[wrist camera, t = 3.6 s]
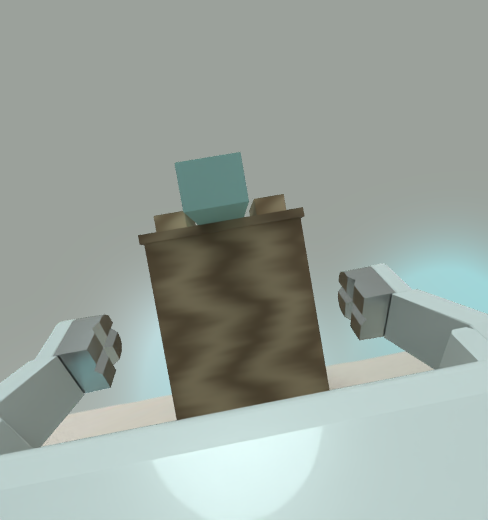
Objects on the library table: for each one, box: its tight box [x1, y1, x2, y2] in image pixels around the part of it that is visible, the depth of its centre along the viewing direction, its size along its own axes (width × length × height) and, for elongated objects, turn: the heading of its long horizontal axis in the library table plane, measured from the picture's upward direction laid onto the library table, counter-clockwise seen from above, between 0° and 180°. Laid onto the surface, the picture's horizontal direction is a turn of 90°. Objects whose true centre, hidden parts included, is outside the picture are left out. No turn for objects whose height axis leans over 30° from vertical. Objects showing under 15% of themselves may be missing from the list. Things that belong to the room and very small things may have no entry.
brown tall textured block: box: [138, 194, 329, 420], centre depth 33 cm, size 15×15×28 cm
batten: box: [175, 152, 249, 225], centre depth 27 cm, size 4×20×3 cm, turn 3°
